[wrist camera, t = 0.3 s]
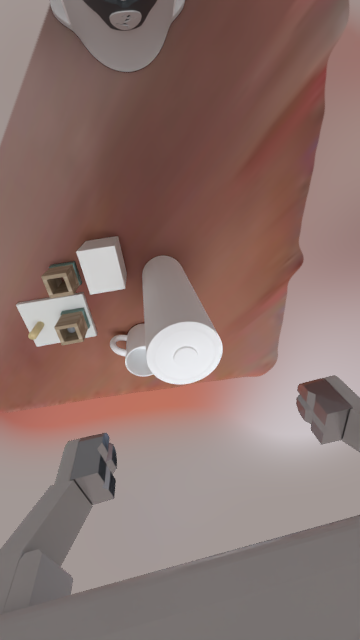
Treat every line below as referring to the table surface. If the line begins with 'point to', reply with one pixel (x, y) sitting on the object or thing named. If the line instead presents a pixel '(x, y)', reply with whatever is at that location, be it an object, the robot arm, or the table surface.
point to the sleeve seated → (69, 320)
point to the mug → (133, 350)
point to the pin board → (52, 317)
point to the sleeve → (55, 282)
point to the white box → (103, 265)
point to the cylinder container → (176, 325)
